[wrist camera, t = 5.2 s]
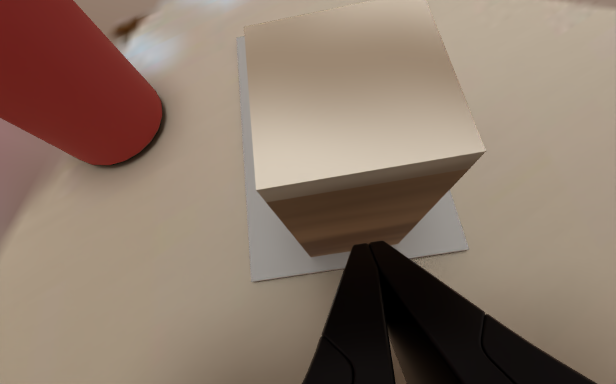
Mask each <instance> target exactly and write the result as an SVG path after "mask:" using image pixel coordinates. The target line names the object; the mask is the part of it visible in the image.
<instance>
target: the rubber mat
mask: <svg viewBox="0 0 616 384" xmlns="http://www.w3.org/2000/svg"><path fill="white" fill-rule="evenodd" d="M237 54H238V71H239V87H240V104H241V120H242V137H243V153H244V170H245V186H246V203H247V219H248V236H249V252H250V269H251V282H258V281H265V280H271V279H278V278H285V277H292V276H298V275H305V274H312V273H319V272H325V271H332V270H339V269H345V266H346V263H347V260H348V258H349V255H350V252H351V251H349V252H342V253H336V254H329V255H323V256H316V257H310V256H309V255H308V253H307V252H306V251H305V250H304V248H303V247H302V246H301V245H300V244H299V242H298V241H297V240H296V239H295V237H294V236H293V235H292V234H291V232H290V231H289V230H288V229H287V228H286V226H285V225H284V224H283V223H282V221H281V220H280V219H279V218H278V217H277V215H276V214H275V213H274V212H273V210H272V209H271V208H270V207H269V206H268V204H267V203H266V202H265V201H264V199H263V198H262V197H261V196H260V194H259V193H258V192H257V191H256V184H255V171H254V157H253V144H252V130H251V117H250V103H249V90H248V76H247V63H246V49H245V36H242V37H237ZM391 246H392V247H393V248H395V249H396V250H398V251H399V252H400V253H402V254H403V255H405V256H406V257H408V258H409V259H413V258H419V257H426V256H433V255H440V254H446V253H453V252H460V251H466V250H469V247H468V244H467V241H466V238H465V235H464V232H463V229H462V226H461V223H460V220H459V217H458V213H457V210H456V207H455V204H454V201H453V198H452V195H451V192H450V190H449V191H448V192H447V193H446V194H445V195H444V196H443V197H442V198H441V199H440V200H439V201H438V202H437V203H436V205H435V206H434V207H433V208H432V209H431V210H430V211H429V212H428V213H427V214H426V215H425V216H424V217H423V218H422V219H421V220H420V221H419V222H418V224H417V225H416V226H415V227H414V228H413V229H412V230H411V231H410V232H409V233H408V234H407V235H406V236H405V237H404V238H403V239H402V240H401V241H400V243H399V244H395V245H391Z"/></svg>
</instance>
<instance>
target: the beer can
mask: <svg viewBox="0 0 616 384" xmlns="http://www.w3.org/2000/svg"><path fill="white" fill-rule="evenodd" d="M0 118H2V119H4V120H6V121H7V122H9V123H11V124H13V125H15V126H17V127H19V128H21V129H23V130H25V131H26V132H28V133H30V134H32V135H34V136H36V137H38V138H40V139H42V140H44V141H45V142H47V143H49V144H51V145H53V146H55V147H57V148H59V149H61V150H63V151H64V152H66V153H68V154H70V155H72V156H74V157H76V158H78V159H80V160H82V161H84V162H87V163H89V164H92V165H112V164H115V163H119V162H122V161H126V160H128V159H129V158H131V157H133V156H135V155H136V154H138V153H140V152H141V151H142V150H143V149H144V148H145V147H146V146H147V145H148V144H149V143H150V142H151V141H152V139H153V138H154V136H155V134H156V133H157V131H158V129H159V126H160V122H161V118H162V105H161V100H160V98H159V96H158V95H157V93H156V91H155V90H154V89H153V87H152V86H151V85H150V84H149V83H148V82H147V81H146V80H145V79H144V78H143V77H142V75H141V74H140V73H139V72H138V71H137V70H136V69H135V68H134V67H133V66H132V64H131V63H130V62H129V61H128V60H127V59H126V58H125V57H124V56H123V55H122V53H121V52H120V51H119V50H118V49H117V48H116V47H115V46H114V45H113V44H112V42H111V41H110V40H109V39H108V38H107V37H106V36H105V35H104V34H103V33H102V32H101V30H100V29H99V28H98V27H97V26H96V25H95V24H94V23H93V22H92V21H91V19H90V18H89V17H88V16H87V15H86V14H85V13H84V12H83V11H82V10H81V8H80V7H79V6H78V5H77V4H76V3H75V2H74V1H73V0H0Z"/></svg>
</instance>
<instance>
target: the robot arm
mask: <svg viewBox="0 0 616 384" xmlns="http://www.w3.org/2000/svg"><path fill="white" fill-rule="evenodd" d="M388 335H389V336H388ZM389 338H390V340H391V343H392V346H393V348H394V351H395V353H396V356H397V359H398V361H399V364H400V366H401V369H402V372H403V374H404V377H405V380H406V382H407V384H597V383H595V382H593V381H592V380H590V379H588V378H587V377H585V376H583V375H582V374H580V373H578V372H577V371H575V370H573V369H572V368H570V367H568V366H567V365H565V364H563V363H562V362H560V361H558V360H557V359H555V358H554V357H552V356H550V355H549V354H547V353H546V352H544V351H542V350H541V349H539V348H537V347H536V346H534V345H533V344H531V343H529V342H528V341H526V340H525V339H524V338H522V337H521V336H519V335H518V334H516V333H515V332H513V331H512V330H510V329H509V328H507V327H506V326H504V325H503V324H501V323H500V322H499V321H497V320H496V319H494V318H493V317H491V316H490V315H488V314H486V315H485V312H484V311H483V310H481V309H480V308H478V307H477V306H476V305H474V304H473V303H471V302H470V301H468V300H467V299H466V298H464V297H463V296H461V295H460V294H459V293H457V292H456V291H454V290H453V289H451V288H450V287H449V286H447V285H446V284H444V283H443V282H442V281H440V280H439V279H437V278H436V277H434V276H433V275H432V274H430V273H429V272H427V271H426V270H425V269H423V268H422V267H420V266H419V265H417V264H416V263H415V262H413V261H412V260H410V259H409V258H408V257H406V256H405V255H403V254H402V253H400V252H399V251H398V250H396V249H395V248H393V247H392V246H391V245H389V244H388V243H386V242H385V241H382V240H381V241H375V242H370V243H369V244H367V243H362V244H355V245H353V246H352V249H351V252H350V255H349V258H348V260H347V263H346V266H345V269H344V272H343V275H342V278H341V280H340V283H339V286H338V289H337V292H336V295H335V298H334V300H333V303H332V306H331V309H330V312H329V315H328V318H327V320H326V323H325V326H324V329H323V332H322V337H320V340H319V343H318V346H317V348H316V351H315V354H314V356H313V359H312V362H311V364H310V367H309V369H308V372H307V374H306V376H305V378H304V380H303V383H302V384H395V377H394V370H393V363H392V356H391V349H390V342H389Z"/></svg>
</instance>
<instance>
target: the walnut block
mask: <svg viewBox="0 0 616 384" xmlns="http://www.w3.org/2000/svg"><path fill="white" fill-rule="evenodd" d="M244 36H245V49H246V63H247V76H248V90H249V103H250V117H251V130H252V144H253V157H254V171H255V184H256V191H257V192H258V193H259V194H260V196H261V197H262V198H263V199H264V201H265V202H266V203H267V204H268V206H269V207H270V208H271V209H272V210H273V212H274V213H275V214H276V215H277V217H278V218H279V219H280V220H281V221H282V223H283V224H284V225H285V226H286V228H287V229H288V230H289V231H290V232H291V234H292V235H293V236H294V237H295V239H296V240H297V241H298V242H299V244H300V245H301V246H302V247H303V248H304V250H305V251H306V252H307V253H308V255H309V256H310V257H316V256H323V255H329V254H336V253H342V252H349V251H351V249H352V246H353V245H355V244H362V243H367V244H369V243H370V242H375V241H381V240H382V241H385V242H386V243H388V244H389V245H395V244H399V243H400V241H401V240H402V239H403V238H404V237H405V236H406V235H407V234H408V233H409V232H410V231H411V230H412V229H413V228H414V227H415V226H416V225H417V224H418V222H419V221H420V220H421V219H422V218H423V217H424V216H425V215H426V214H427V213H428V212H429V211H430V210H431V209H432V208H433V207H434V206H435V205H436V203H437V202H438V201H439V200H440V199H441V198H442V197H443V196H444V195H445V194H446V193H447V192H448V191H449V190H450V189H451V188H452V187H453V186H454V184H455V183H456V182H457V181H458V180H459V179H460V178H461V177H462V176H463V175H464V174H465V173H466V172H467V171H468V170H469V169H470V168H471V166H472V165H473V164H474V163H475V162H476V161H477V160H478V159H479V158H480V157H481V156H482V155H483V154H484V153H485V152H486V150H485V147H484V145H483V142H482V140H481V137H480V134H479V132H478V129H477V127H476V124H475V122H474V119H473V117H472V114H471V112H470V109H469V107H468V104H467V102H466V99H465V97H464V94H463V91H462V89H461V86H460V84H459V81H458V79H457V76H456V74H455V71H454V69H453V66H452V64H451V61H450V59H449V56H448V54H447V51H446V48H445V46H444V43H443V41H442V38H441V36H440V33H439V31H438V28H437V26H436V23H435V21H434V18H433V16H432V13H431V10H430V8H429V5H428V3H427V0H371V1H366V2H362V3H357V4H352V5H347V6H342V7H337V8H332V9H328V10H323V11H318V12H313V13H308V14H303V15H299V16H294V17H289V18H284V19H279V20H274V21H270V22H265V23H260V24H255V25H250V26H245V27H244Z"/></svg>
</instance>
